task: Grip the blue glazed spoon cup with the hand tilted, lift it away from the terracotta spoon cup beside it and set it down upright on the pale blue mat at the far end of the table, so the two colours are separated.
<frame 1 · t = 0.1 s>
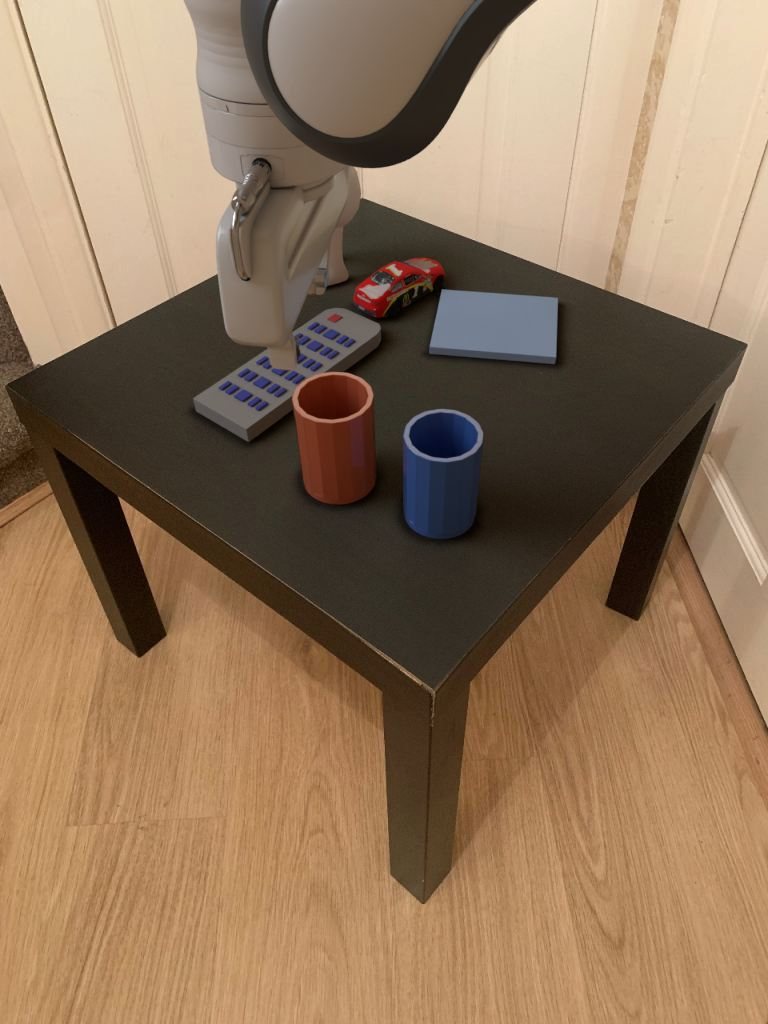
hand: (302, 324, 58), 21 cm above the table, tool pointing down, fingers open, 8 cm apart
blue mat: (495, 328, 92), on the table
terracotta cup: (339, 478, 76), on the table
toy character: (329, 272, 102), on the table
race car: (400, 297, 98), on the table
remote control: (296, 377, 87), on the table
blue cup: (439, 512, 73), on the table
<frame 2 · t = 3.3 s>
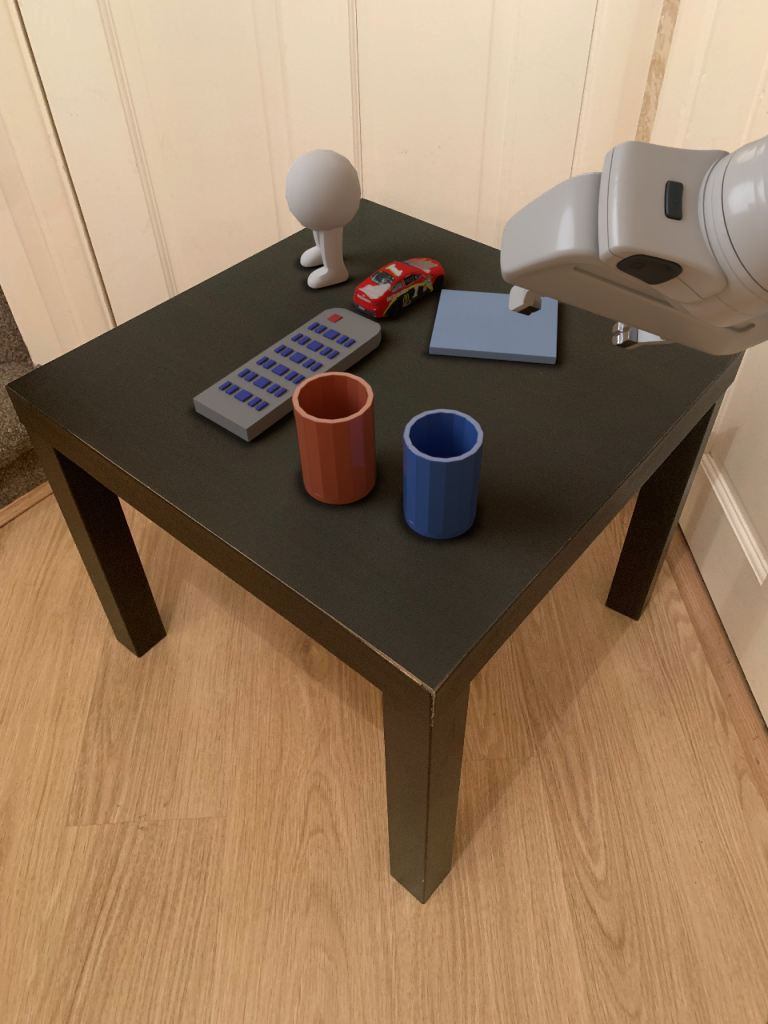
hand: (570, 321, 57), 21 cm above the table, tool tilted 45°, fingers open, 8 cm apart
nothing on the table moved.
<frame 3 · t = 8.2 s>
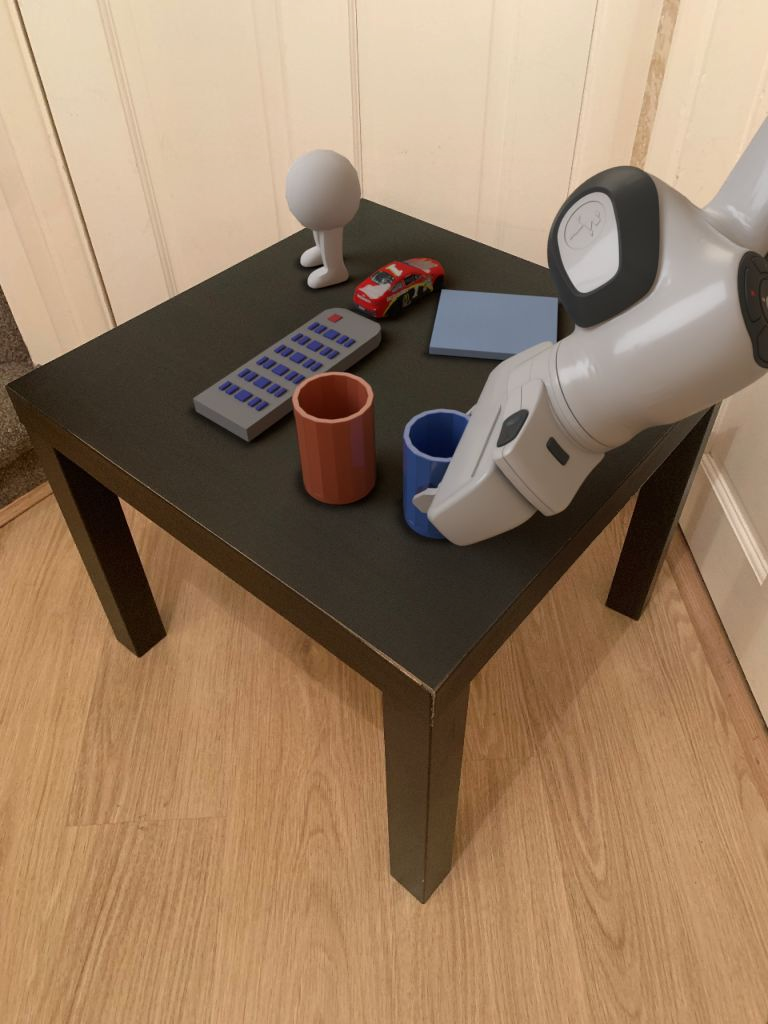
hand: (434, 470, 69), 5 cm above the table, tool tilted 45°, fingers closed on blue cup, 7 cm apart
blue cup: (439, 512, 73), on the table, touching gripper
everything else where it was.
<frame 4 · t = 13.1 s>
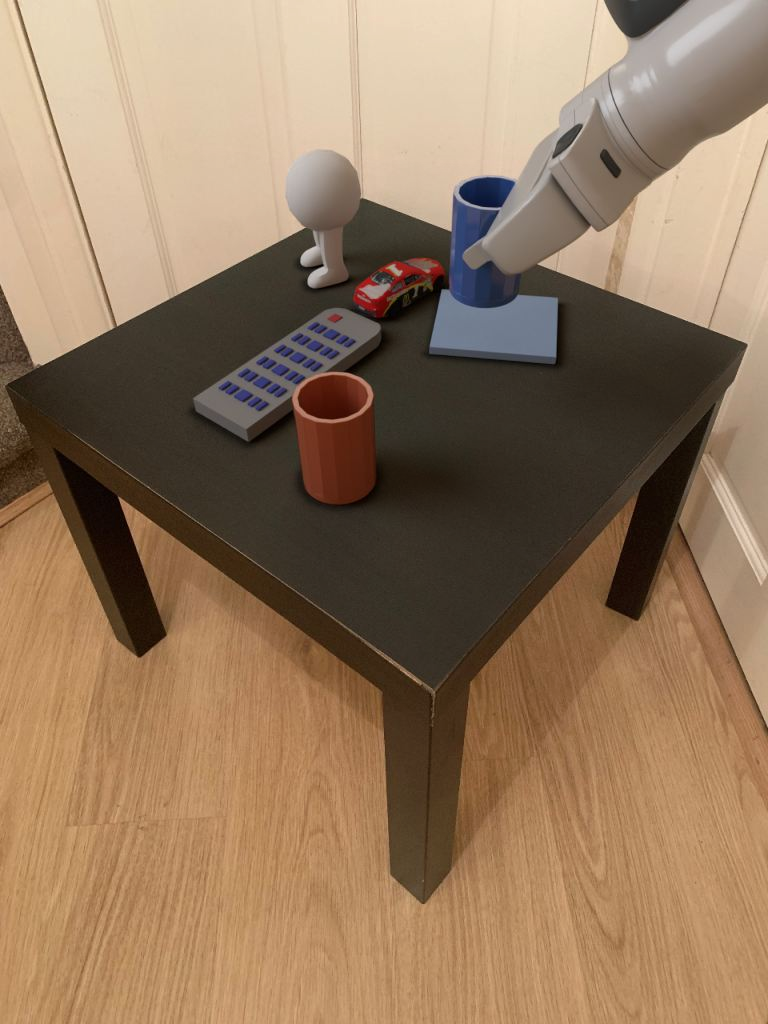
hand: (481, 238, 72), 18 cm above the table, tool tilted 45°, fingers closed on blue cup, 7 cm apart
blue cup: (483, 289, 76), point 12 cm above the table, touching gripper
everything else where it was.
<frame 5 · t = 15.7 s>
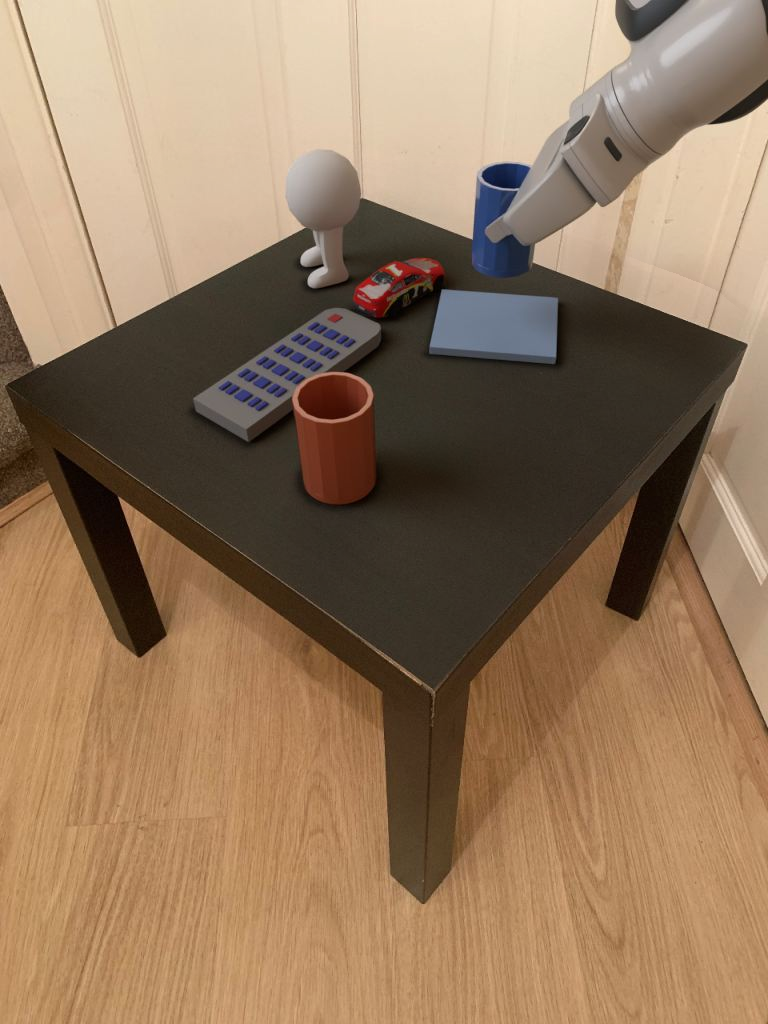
hand: (500, 216, 83), 14 cm above the table, tool tilted 45°, fingers closed on blue cup, 7 cm apart
blue cup: (501, 262, 86), point 8 cm above the table, touching gripper
everything else where it was.
when the fingers open (6 cm above the table, at t = 18.3 s): blue cup stays where it is, resting on blue mat.
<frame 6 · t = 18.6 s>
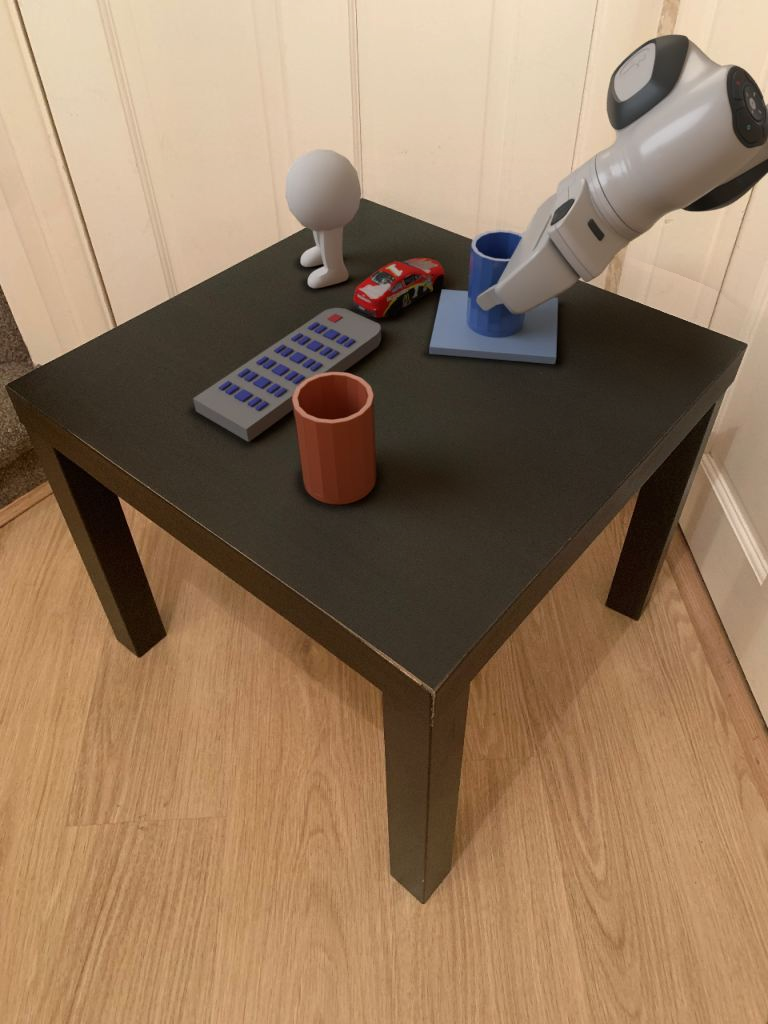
hand: (493, 280, 88), 6 cm above the table, tool tilted 45°, fingers open, 8 cm apart
blue cup: (494, 321, 92), point 1 cm above the table, touching blue mat
everything else where it was.
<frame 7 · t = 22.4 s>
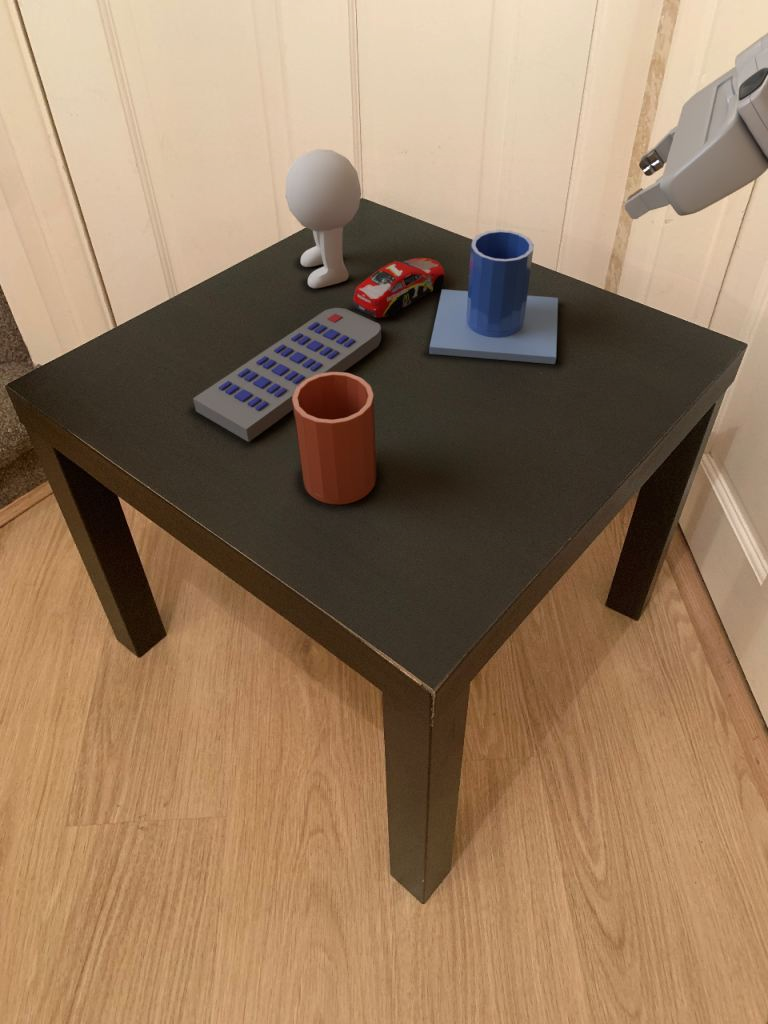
hand: (636, 188, 76), 19 cm above the table, tool tilted 45°, fingers open, 8 cm apart
nothing on the table moved.
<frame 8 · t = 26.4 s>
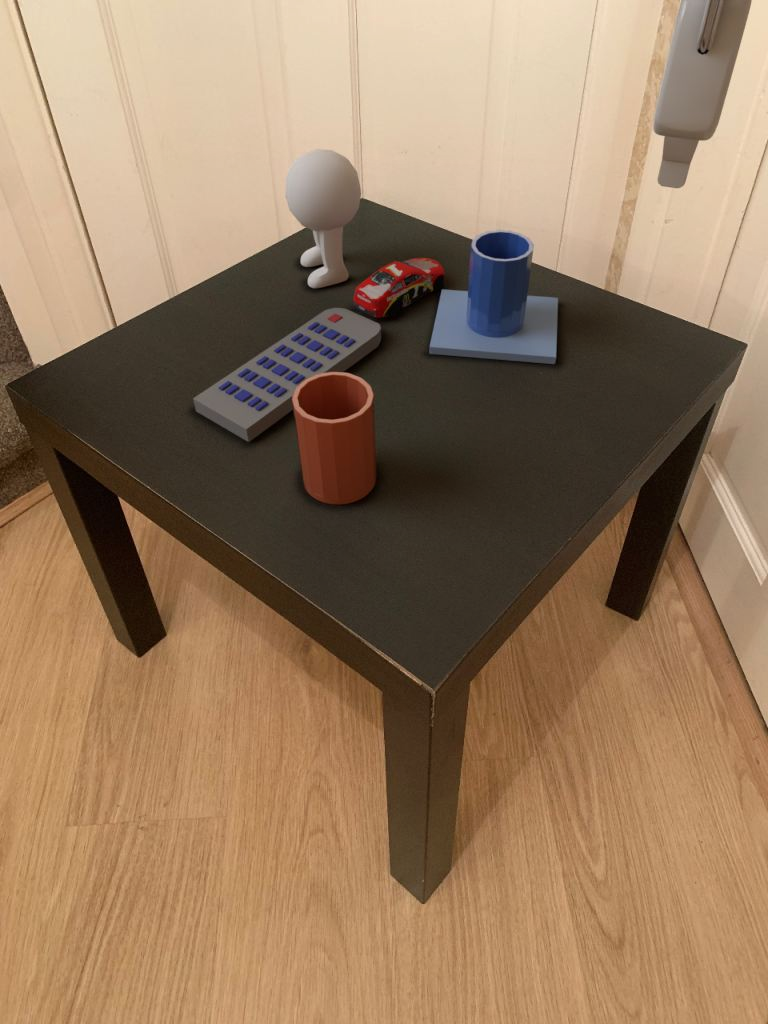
hand: (679, 154, 56), 29 cm above the table, tool pointing down, fingers open, 8 cm apart
nothing on the table moved.
at the end: blue cup inside the target area on the blue mat (0.1 cm from its centre), point 1.0 cm above the blue mat's base; blue cup tilted 0°; terracotta cup moved 0.0 cm from its start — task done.
